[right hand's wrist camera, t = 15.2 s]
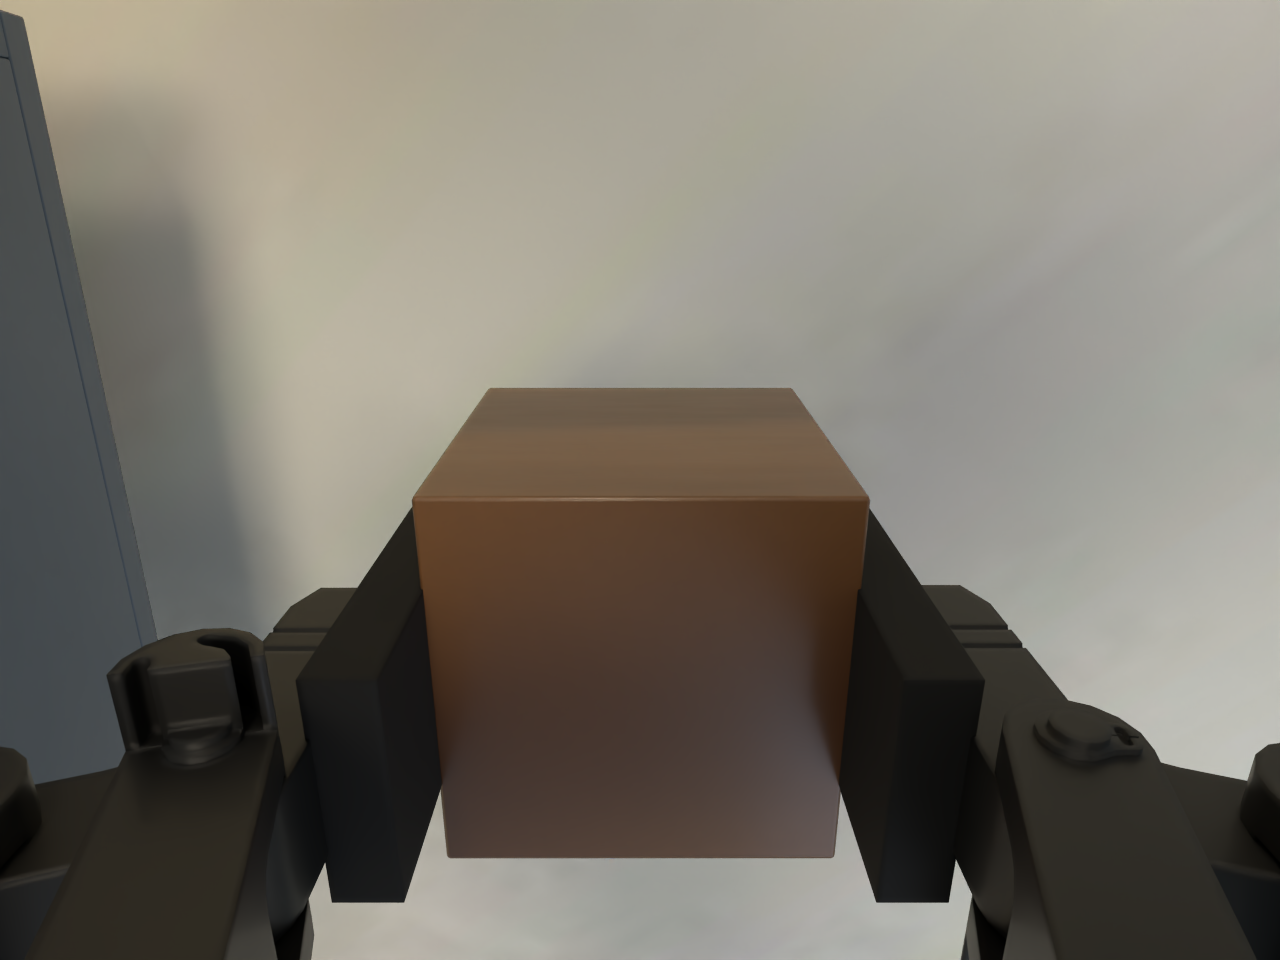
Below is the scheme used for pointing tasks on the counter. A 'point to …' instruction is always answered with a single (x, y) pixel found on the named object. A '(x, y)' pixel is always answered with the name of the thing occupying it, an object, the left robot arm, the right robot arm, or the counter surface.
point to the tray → (55, 470)
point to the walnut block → (640, 623)
